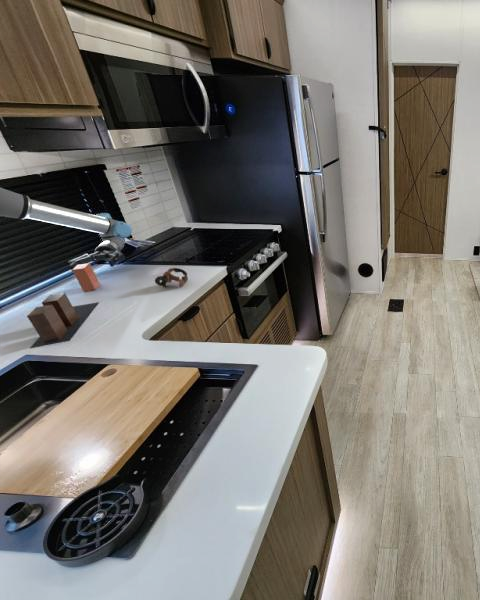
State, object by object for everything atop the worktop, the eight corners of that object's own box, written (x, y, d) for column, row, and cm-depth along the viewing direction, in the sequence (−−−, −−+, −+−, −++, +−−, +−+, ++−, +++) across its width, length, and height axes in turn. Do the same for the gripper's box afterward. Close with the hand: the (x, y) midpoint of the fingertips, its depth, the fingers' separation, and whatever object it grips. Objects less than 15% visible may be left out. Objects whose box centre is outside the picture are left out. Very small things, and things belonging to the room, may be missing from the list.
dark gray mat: (67, 308, 125) (67, 307, 125) (100, 303, 129) (99, 302, 128) (30, 350, 103) (28, 348, 102) (70, 342, 106) (69, 340, 106)
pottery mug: (176, 279, 148) (180, 264, 145) (190, 292, 146) (194, 277, 143) (147, 284, 137) (151, 268, 134) (161, 297, 135) (166, 281, 132)
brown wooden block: (56, 328, 112) (40, 302, 107) (63, 319, 117) (49, 295, 112) (71, 325, 114) (57, 300, 109) (78, 317, 118) (64, 292, 114)
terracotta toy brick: (82, 291, 137) (71, 269, 133) (88, 286, 142) (77, 264, 137) (95, 290, 139) (84, 268, 134) (100, 284, 144) (89, 263, 139)
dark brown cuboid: (43, 343, 105) (25, 316, 100) (51, 333, 110) (35, 307, 105) (59, 339, 106) (43, 313, 101) (67, 330, 111) (52, 304, 106)
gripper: (140, 254, 167) (129, 269, 150) (79, 262, 158) (59, 279, 141) (134, 239, 163) (122, 253, 146) (71, 247, 155) (50, 263, 138)
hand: (91, 266), depth 144 cm, fingers open, 13 cm apart
